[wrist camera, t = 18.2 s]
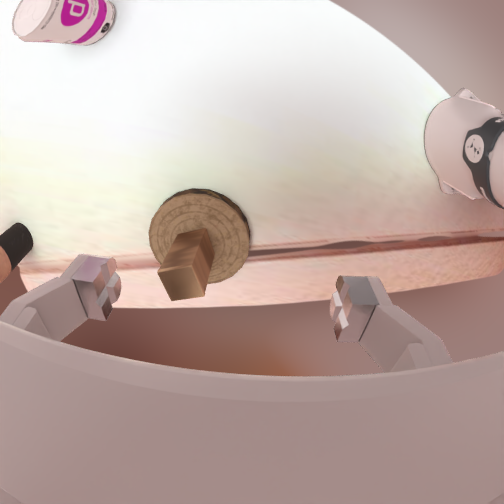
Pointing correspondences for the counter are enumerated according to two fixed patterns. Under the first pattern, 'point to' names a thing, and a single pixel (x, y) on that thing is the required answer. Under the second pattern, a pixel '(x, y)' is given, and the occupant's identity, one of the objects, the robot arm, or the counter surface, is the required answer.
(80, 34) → the supplement can
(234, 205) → the wood slice
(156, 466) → the robot arm
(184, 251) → the walnut block
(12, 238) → the travel mug
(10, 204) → the counter surface
